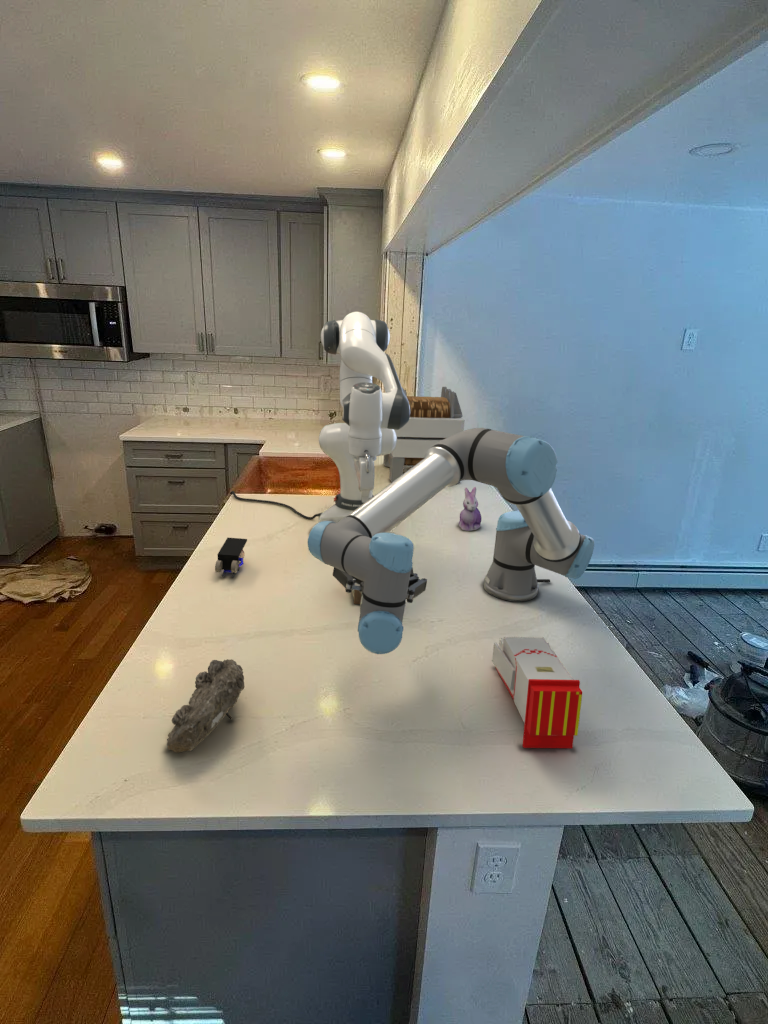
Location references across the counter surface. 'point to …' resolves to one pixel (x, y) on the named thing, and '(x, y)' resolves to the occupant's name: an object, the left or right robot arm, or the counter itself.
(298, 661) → the counter surface
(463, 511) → the figurine
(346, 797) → the counter surface
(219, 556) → the figurine character
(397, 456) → the transformer
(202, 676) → the fossil
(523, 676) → the toy
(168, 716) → the counter surface
